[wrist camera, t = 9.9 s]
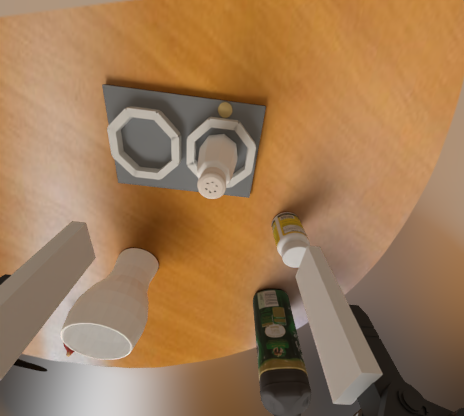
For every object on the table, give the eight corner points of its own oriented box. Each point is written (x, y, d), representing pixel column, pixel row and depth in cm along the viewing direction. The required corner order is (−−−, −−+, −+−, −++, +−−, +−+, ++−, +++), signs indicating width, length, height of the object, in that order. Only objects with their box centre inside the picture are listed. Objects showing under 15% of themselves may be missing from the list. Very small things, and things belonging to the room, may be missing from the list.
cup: (106, 239, 40) (43, 317, 27) (164, 244, 40) (130, 323, 27) (116, 278, 45) (68, 359, 32) (167, 283, 46) (140, 364, 33)
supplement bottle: (284, 238, 39) (295, 275, 32) (265, 224, 37) (272, 259, 30) (305, 221, 37) (322, 256, 30) (286, 206, 35) (298, 238, 28)
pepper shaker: (232, 175, 32) (231, 216, 23) (196, 165, 31) (178, 204, 22) (243, 139, 29) (247, 169, 20) (204, 127, 29) (188, 152, 19)
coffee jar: (289, 313, 50) (313, 422, 34) (254, 315, 51) (263, 423, 35) (289, 285, 45) (317, 397, 29) (251, 288, 46) (258, 399, 30)
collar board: (120, 180, 34) (113, 186, 32) (105, 84, 27) (95, 84, 25) (249, 195, 35) (249, 202, 33) (265, 105, 28) (267, 108, 26)
